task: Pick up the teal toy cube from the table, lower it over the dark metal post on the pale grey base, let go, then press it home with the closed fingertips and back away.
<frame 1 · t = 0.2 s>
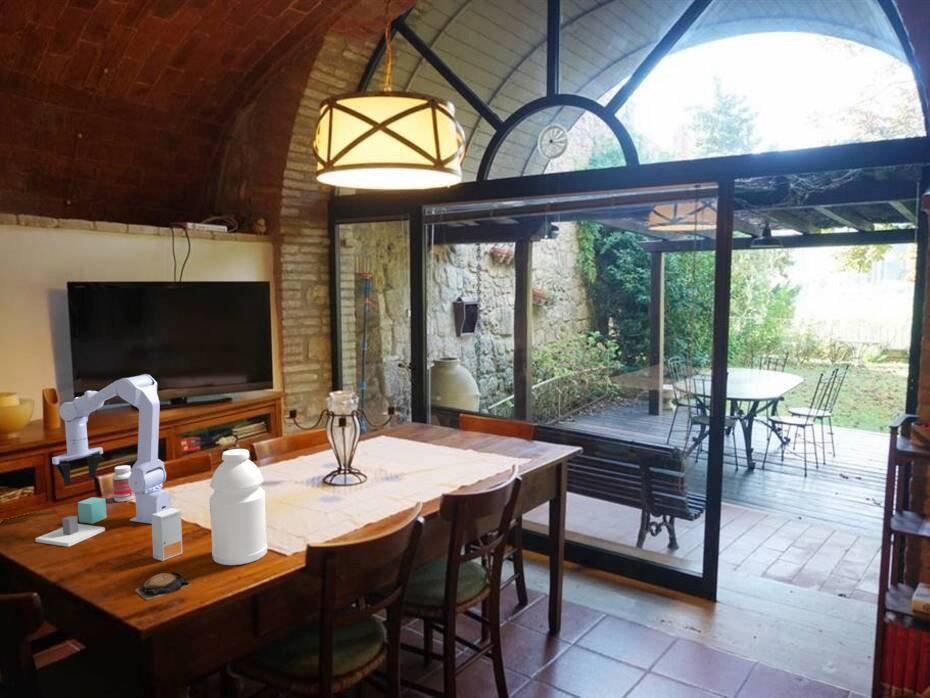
hand: (80, 481, 205), 10 cm above the table, tool pointing down, fingers open, 7 cm apart
skincare box: (168, 556, 171), on the table
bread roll: (163, 590, 154), on the table
bottle: (240, 555, 172), on the table
post base: (71, 536, 185), on the table
teal toy cube: (92, 519, 198), on the table
pill bottle: (124, 499, 217), on the table
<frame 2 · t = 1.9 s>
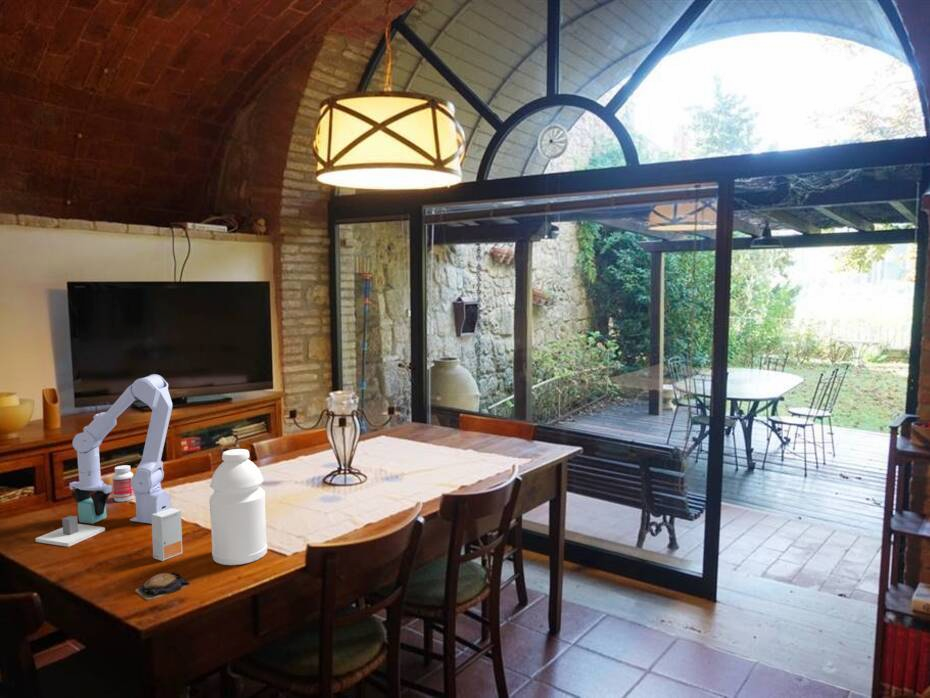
hand: (92, 513, 198), 2 cm above the table, tool pointing down, fingers closed on teal toy cube, 5 cm apart
teal toy cube: (92, 519, 198), on the table, touching gripper
everything else where it was.
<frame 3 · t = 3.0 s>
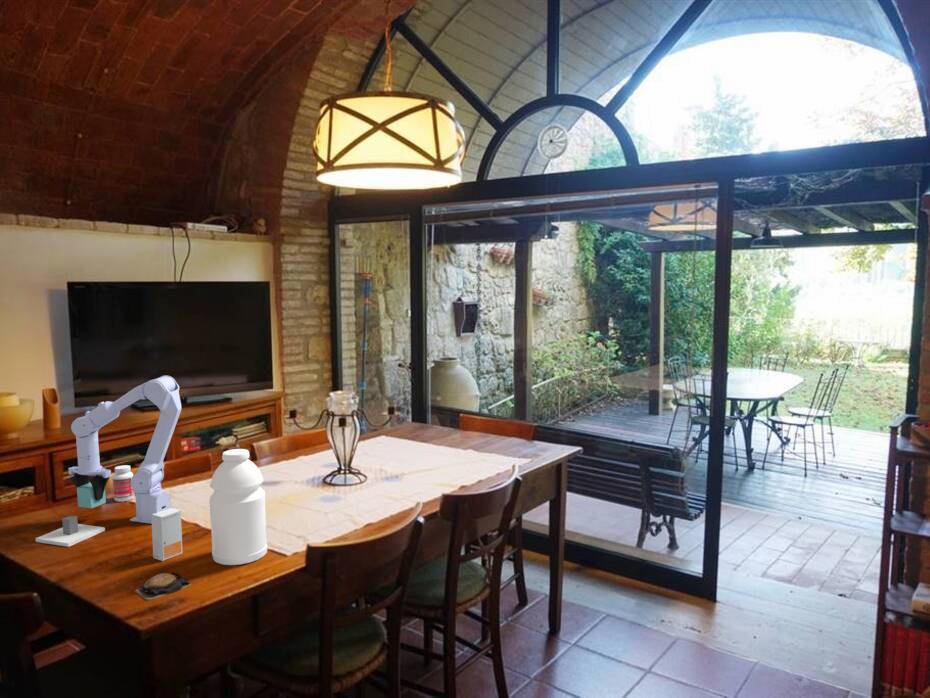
hand: (91, 498, 198), 7 cm above the table, tool pointing down, fingers closed on teal toy cube, 5 cm apart
teal toy cube: (92, 504, 198), point 5 cm above the table, touching gripper
everything else where it was.
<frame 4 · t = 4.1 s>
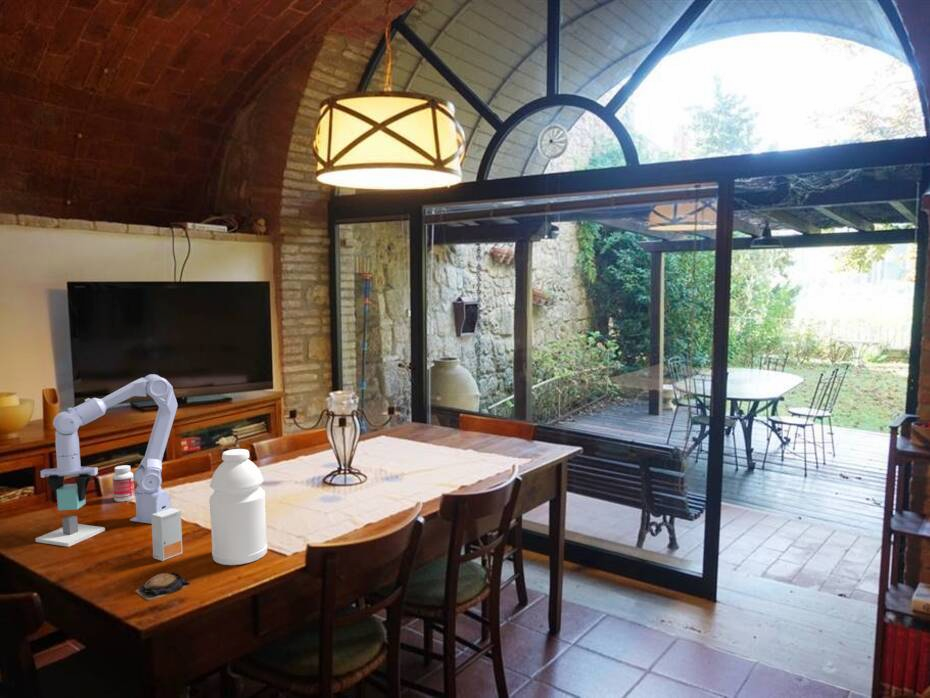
hand: (71, 500, 186), 10 cm above the table, tool pointing down, fingers closed on teal toy cube, 5 cm apart
teal toy cube: (72, 506, 186), point 8 cm above the table, touching gripper
everything else where it was.
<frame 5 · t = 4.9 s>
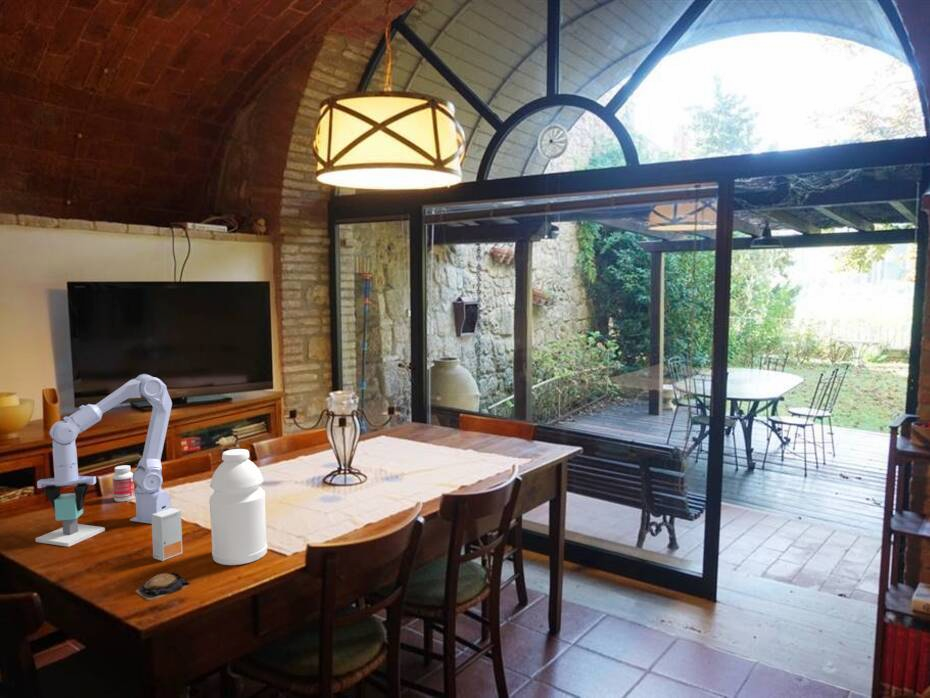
hand: (69, 510, 185), 8 cm above the table, tool pointing down, fingers closed on teal toy cube, 5 cm apart
teal toy cube: (69, 516, 185), point 6 cm above the table, touching gripper
everything else where it was.
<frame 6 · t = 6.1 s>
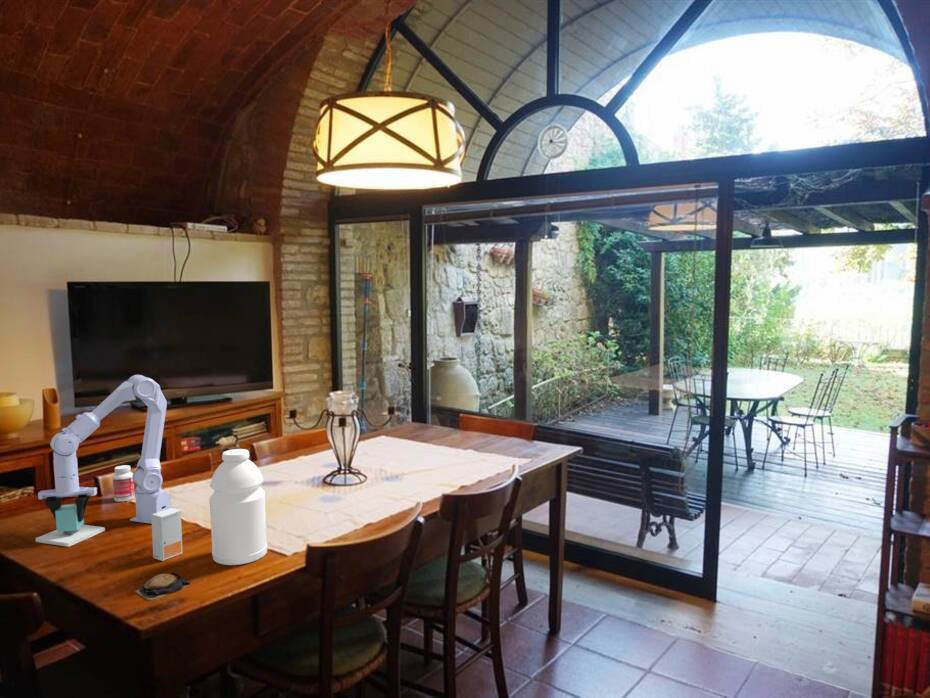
hand: (69, 521, 185), 4 cm above the table, tool pointing down, fingers closed on teal toy cube, 5 cm apart
teal toy cube: (70, 527, 185), point 2 cm above the table, touching gripper
everything else where it was.
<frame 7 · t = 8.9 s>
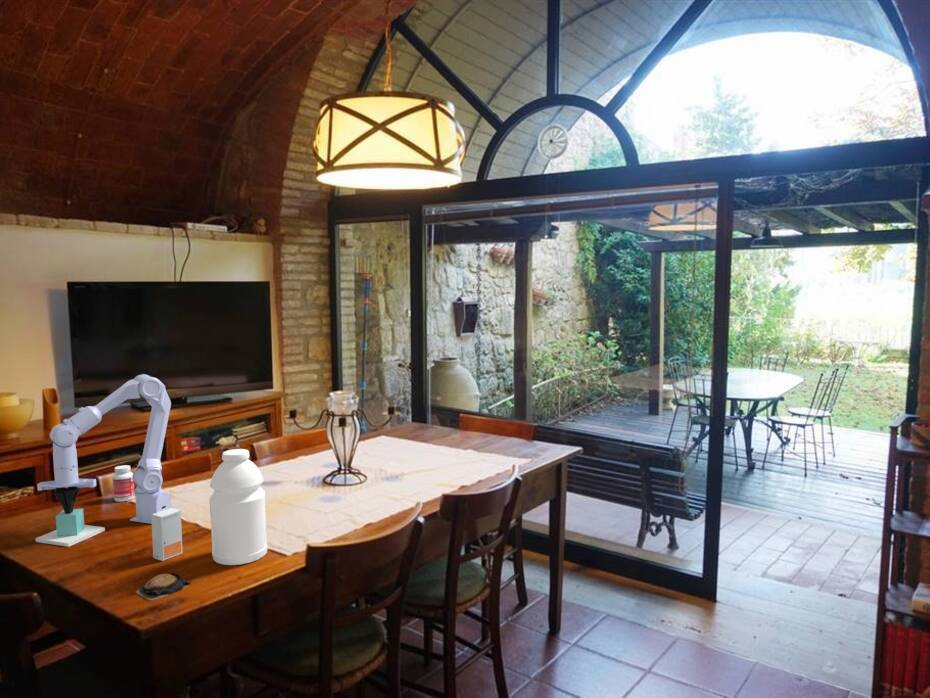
hand: (69, 512, 185), 7 cm above the table, tool pointing down, fingers closed, pressing on teal toy cube
teal toy cube: (71, 532, 185), point 1 cm above the table, touching gripper, post base
everything else where it was.
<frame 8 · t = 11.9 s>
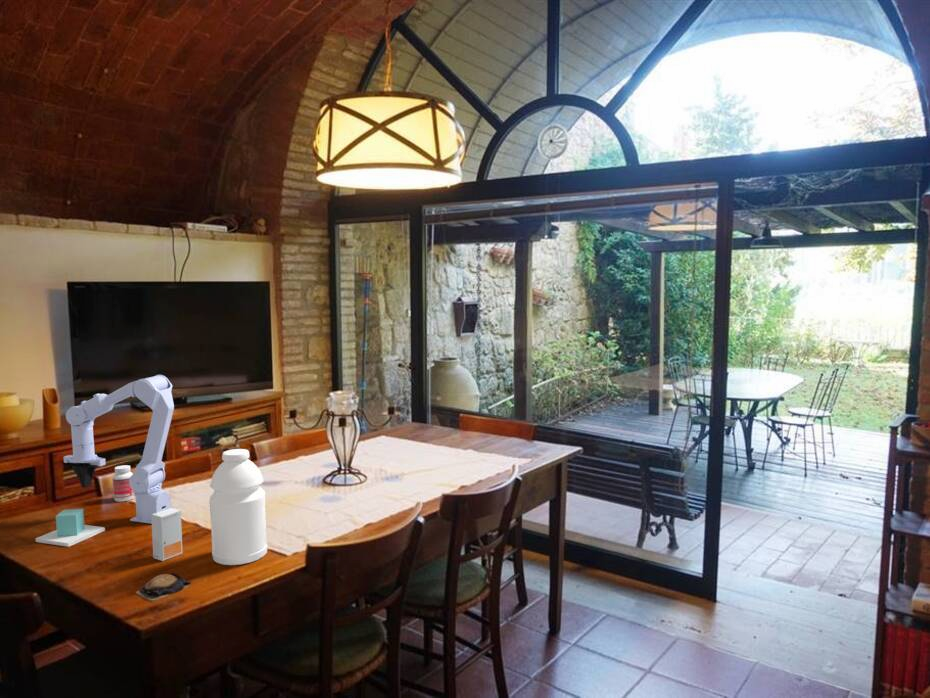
hand: (86, 486, 200), 9 cm above the table, tool pointing down, fingers closed
teal toy cube: (71, 532, 185), point 1 cm above the table, touching post base
everything else where it was.
at the end: teal toy cube 0.2 cm from the post base (horizontally); teal toy cube point 1.0 cm above the table; teal toy cube tilted 0° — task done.
